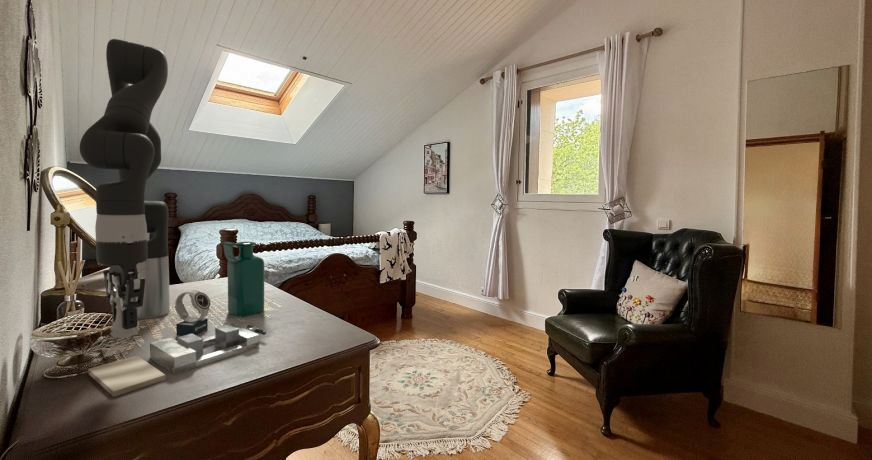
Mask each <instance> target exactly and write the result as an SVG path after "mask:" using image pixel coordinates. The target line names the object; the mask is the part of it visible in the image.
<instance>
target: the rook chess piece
mask: <svg viewBox="0 0 872 460" xmlns="http://www.w3.org/2000/svg"><path fill="white" fill-rule="evenodd" d="M122 293H123V292H122ZM113 300H114V301H115V302H116V304H117V306H116V307H115V308H116V309H117V314H116V320H115V322H113V324H112V325H111V327H110V331H111V332H110V335H111V336H112V337H113V338H126V337H132V336H134V335H136V334H138V333H139V331H140V328H139V326H140V324H139V323H140V322H139V321H137V323H138V325H137V327H135V328H131V329H123V328H122V313H121V310H122V309H121V303H120V299H118V298H117V297H115V298H114V299H113ZM132 301H133V298H131V302H132Z"/></svg>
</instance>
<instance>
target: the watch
mask: <svg viewBox="0 0 872 460" xmlns="http://www.w3.org/2000/svg"><path fill="white" fill-rule="evenodd" d="M186 295H189V298H190V302H191V305H192V307H193V309H195V310H196V311H197V312H198V314H199V315H200V316H199V317H194V316H192V317H190V314H189V312H188V311H187V309H186V306H185V304H184V303H183V299H184V297H185V296H186ZM174 303H175V304H174V305H175V306H174V308H175V311H176V313H177V316H178V317H179V319H180V320H182V321H179V322H178V323H176V328H175V329H176V331H175V332H176V337H181V336H185V335H188V334H194V335H196V336H199V335H200V334H202V333H204V332H206V331H207V330H208V328H209V325H208V324H209V323H208V318H207V315H208V314H209V311H210V307H211V299H210V297H209V296H208V295H207V294H206V293H205V292H202V291H200V290H194V289H193V290H188V291H185V292H182V293H180V294H179V295H178V296H177V297H176V299H175V302H174Z"/></svg>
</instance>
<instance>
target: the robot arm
mask: <svg viewBox="0 0 872 460" xmlns="http://www.w3.org/2000/svg"><path fill="white" fill-rule="evenodd" d="M105 51H106V52H105V56H106V58H105V59H106V67H107V73H108V80H109V85H110V86H109V87H110V92H111V97H110V98H109V100H108V101H107V105H106V108H105V110H104V113H103V116H102V117H100V118H99V119H98V120H97V121H96V122H94V123H93V124H92V125H91V126H89V128H88V129H86V130H85V132H84V134H83V135H82V137H81V139H80V141H79V154H80V156H81V158H82V159H83V160H84V162H85V163H86V164H88V166H90V167H92V168H95V169H100V170H117V171H118V178H119V180H118V181H110V182H102V183H100V184H98V185H97V186H96V188H95V205H96V206H95V207H96V209H95V210H96V219H95V220H96V221H95V227H94V228H95V231H94V232H95V250H96V251H95V254H96V256H95V257H96V263H97V264H98V265H102V266H109V268H108V269H104V270H103V273H102V274H103V279H104V280H103V281H104V286H105V293H106V299H107V300H108V301H109V304H110V305H111V308H112V309H111V310H112V323H114V322H115V320H116V314H117V309H116V308H115V307H116V306H117V304H116V302H115V301H114V300H113V299H114V298H115V297H117V298H118V299H120V303H121V309H122V310H121V313H122V328H123V329H131V328H135V327H137V325H138V323H139V322H138V320H145V319H153V318H159V317H162V316H165V315H168V314H169V313H170V309H171V308H170V307H171V306H170V304H171V303H170V271H169V270H170V267H169V266H170V265H169V234H168V233H169V214H170V213H169V207H168V205H167V203H166V202H164V201H160V200H145V194H146V193H145V192H146V184H147V181H148V179H149V178H151V176H152V175H153V174H154V173H155V172H156V171H157V169H158V168H159V166H160V165H161V162H162V142H161V141H162V139H161V137H160V135H159V132H158V130H156V128H155V127H154V125H153V124H152V123H151V116H152V113H153V109H154V108H155V105H156V103H157V102H158V100H159V99H160V97H161V94H162V93H163V91H164V89H165V86H166V84H167V81H168V78H169V77H168V76H169V75H168V74H169V70H168V69H169V68H168V67H169V66H168V65H169V64H168V59H167V55H165V53H164V52H163V51H162V50H160V49H158V48H155V47H152V46H148V45H144V44H140V43H137V42H136V43H135V42H133V41H132V42H131V41H127V40H124V39H119V38H118V39H117V38H112V39H109V40H108V42H107V45H106V50H105ZM153 233H154V236H153V237H152V238H150V239H149V240H148V234H153ZM122 292H123V293H122ZM131 298H133V301H132V302H131ZM137 322H138V323H137ZM137 328H138V327H137Z"/></svg>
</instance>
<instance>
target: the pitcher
mask: <svg viewBox="0 0 872 460" xmlns="http://www.w3.org/2000/svg"><path fill="white" fill-rule="evenodd" d="M222 245H223V250H224V251H223V252H224V256H225V258H226V260H227V311H228V313H229V314H231V315H234V316H236V317H238V318H243V317H248V316H253V315H258V314H261V313H263V312H264V311H265V261H264V258H262V257H259V256H256V255H254V248H253V246H256V245H257V243H256V242H254V241H239V242H236V243H234V242H229V241H224V242H223V244H222ZM234 248H239V249H238V250H239V254H238V256H235V255H234V254H235V253H234Z"/></svg>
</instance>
